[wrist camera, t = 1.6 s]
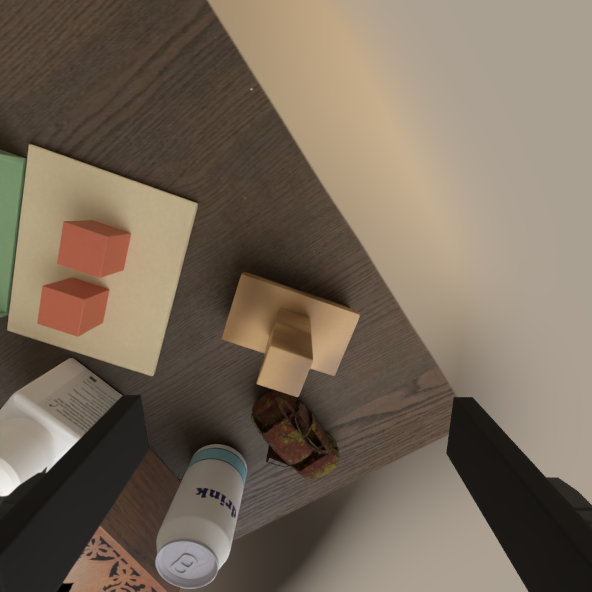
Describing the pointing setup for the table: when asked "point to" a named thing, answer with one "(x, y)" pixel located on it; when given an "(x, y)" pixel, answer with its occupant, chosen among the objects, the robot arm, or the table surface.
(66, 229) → the cube
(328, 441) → the toy car
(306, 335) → the brush
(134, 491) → the tissue box cover
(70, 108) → the table surface
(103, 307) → the cube
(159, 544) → the beverage can
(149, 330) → the mat
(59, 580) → the robot arm
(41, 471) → the container
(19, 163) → the dustpan
